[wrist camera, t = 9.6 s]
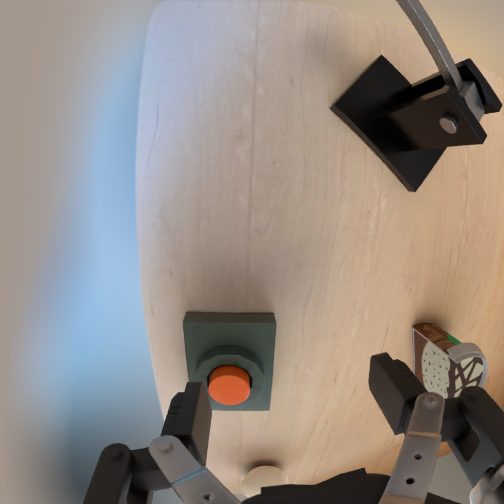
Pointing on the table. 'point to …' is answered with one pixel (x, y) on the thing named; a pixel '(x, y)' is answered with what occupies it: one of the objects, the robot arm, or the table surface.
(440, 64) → the lever
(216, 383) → the button
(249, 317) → the button box
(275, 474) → the cream ball
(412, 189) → the bracket
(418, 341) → the food container
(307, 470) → the table surface
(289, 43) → the table surface
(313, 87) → the table surface
